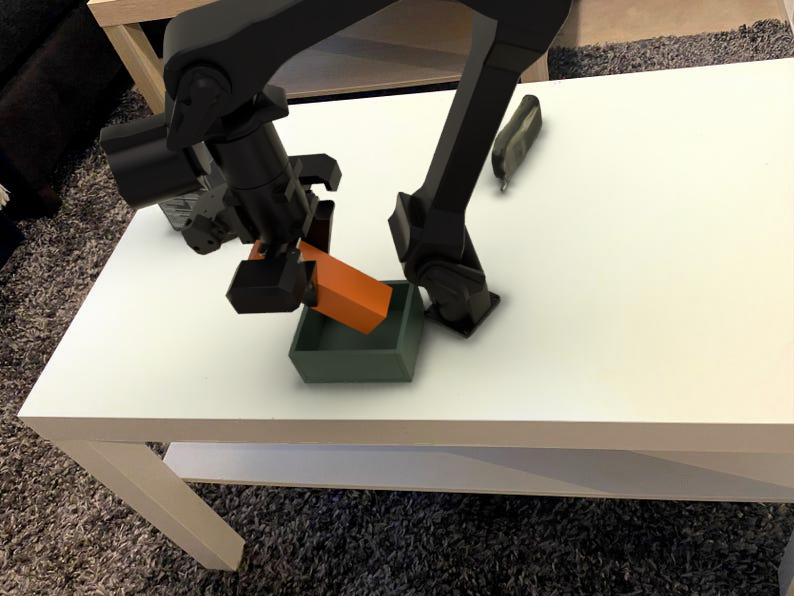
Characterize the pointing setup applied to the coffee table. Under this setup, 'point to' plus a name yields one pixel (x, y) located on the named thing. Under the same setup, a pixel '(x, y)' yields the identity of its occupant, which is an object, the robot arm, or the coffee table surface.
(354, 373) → the bin
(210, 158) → the small box
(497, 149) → the olive green elongated pouch
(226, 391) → the coffee table surface
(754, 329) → the coffee table surface
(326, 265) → the orange rectangular block
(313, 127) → the coffee table surface
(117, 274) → the coffee table surface
